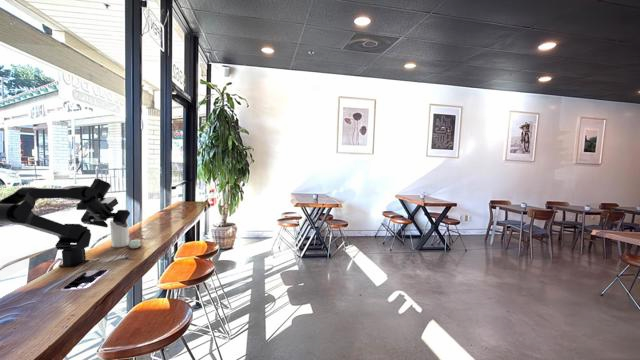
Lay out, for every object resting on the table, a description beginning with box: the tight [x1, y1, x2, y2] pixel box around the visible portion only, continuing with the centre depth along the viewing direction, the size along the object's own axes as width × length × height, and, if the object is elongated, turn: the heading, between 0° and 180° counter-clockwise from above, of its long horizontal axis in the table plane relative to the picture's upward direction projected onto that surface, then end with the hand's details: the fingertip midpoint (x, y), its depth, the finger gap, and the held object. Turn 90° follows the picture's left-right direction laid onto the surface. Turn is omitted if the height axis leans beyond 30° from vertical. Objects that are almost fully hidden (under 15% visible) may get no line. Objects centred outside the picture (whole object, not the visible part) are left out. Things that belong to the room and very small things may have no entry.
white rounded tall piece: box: [109, 217, 130, 248], centre depth 134 cm, size 7×7×12 cm
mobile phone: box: [60, 269, 109, 292], centre depth 97 cm, size 8×1×15 cm
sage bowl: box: [128, 239, 142, 249], centre depth 131 cm, size 4×4×3 cm
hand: (116, 226), depth 133 cm, fingers open, 9 cm apart
